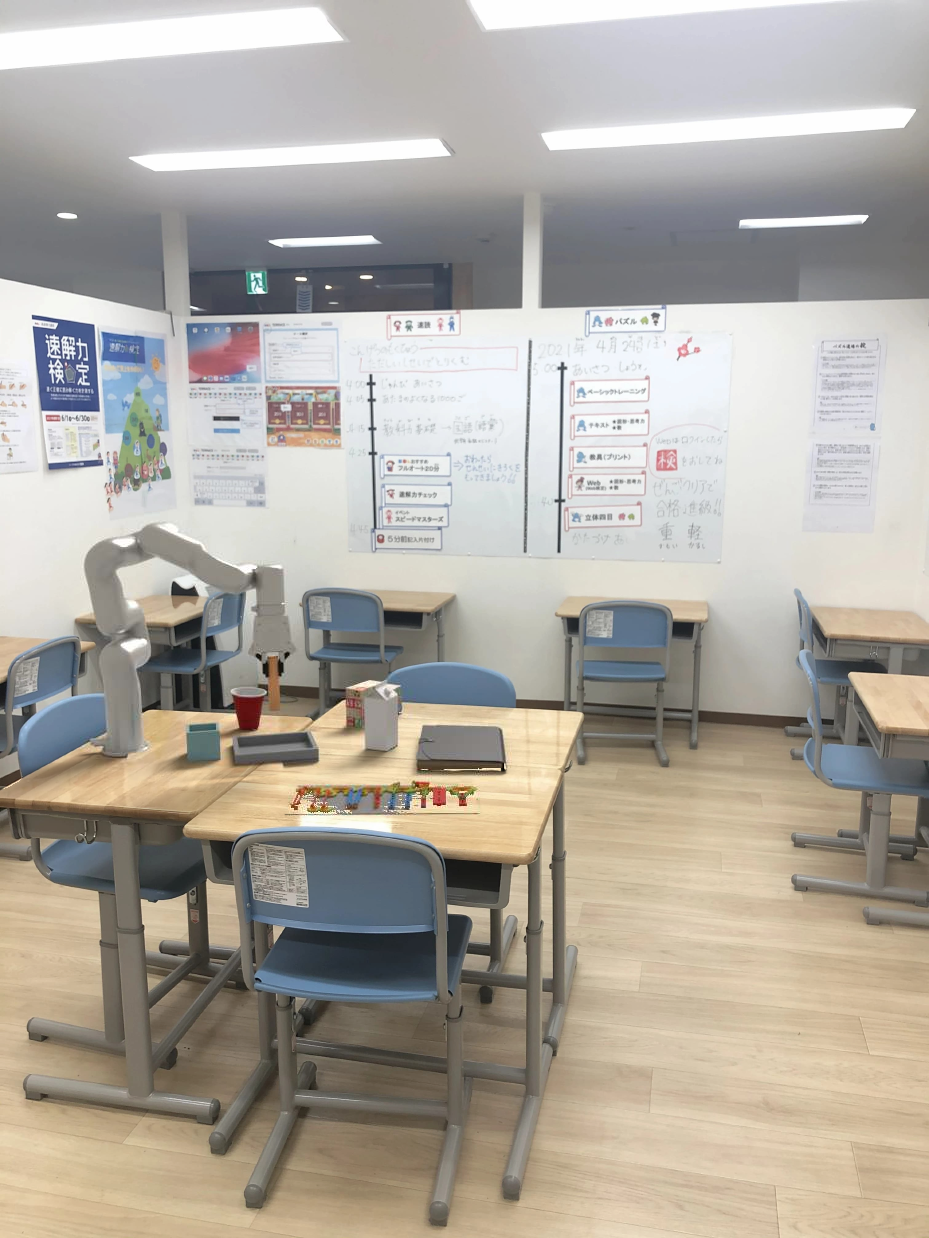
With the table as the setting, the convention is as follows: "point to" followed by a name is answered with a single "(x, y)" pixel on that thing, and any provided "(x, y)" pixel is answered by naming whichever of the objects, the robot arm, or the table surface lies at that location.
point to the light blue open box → (203, 742)
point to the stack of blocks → (356, 701)
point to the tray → (276, 748)
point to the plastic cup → (248, 706)
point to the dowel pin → (273, 683)
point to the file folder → (460, 747)
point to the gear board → (376, 797)
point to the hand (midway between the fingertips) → (273, 675)
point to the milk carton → (381, 718)
